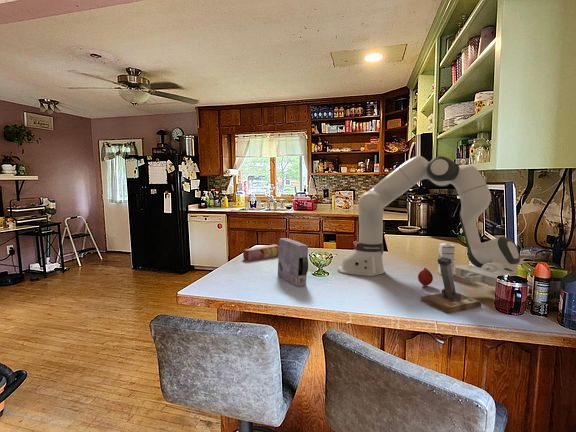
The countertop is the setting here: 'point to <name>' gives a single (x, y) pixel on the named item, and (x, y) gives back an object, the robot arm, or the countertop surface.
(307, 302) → the countertop surface
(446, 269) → the lever
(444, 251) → the white cylindrical container
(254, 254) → the snack package
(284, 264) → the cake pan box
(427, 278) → the onion
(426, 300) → the switch base
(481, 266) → the robot arm
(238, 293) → the countertop surface
